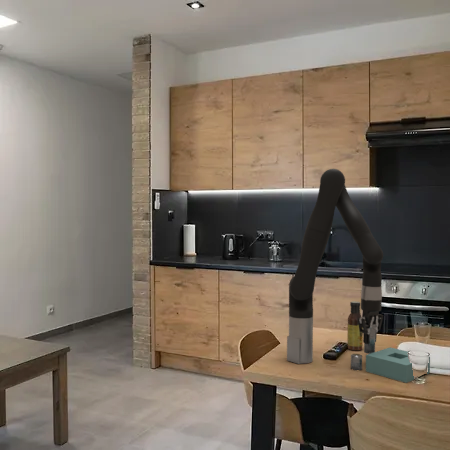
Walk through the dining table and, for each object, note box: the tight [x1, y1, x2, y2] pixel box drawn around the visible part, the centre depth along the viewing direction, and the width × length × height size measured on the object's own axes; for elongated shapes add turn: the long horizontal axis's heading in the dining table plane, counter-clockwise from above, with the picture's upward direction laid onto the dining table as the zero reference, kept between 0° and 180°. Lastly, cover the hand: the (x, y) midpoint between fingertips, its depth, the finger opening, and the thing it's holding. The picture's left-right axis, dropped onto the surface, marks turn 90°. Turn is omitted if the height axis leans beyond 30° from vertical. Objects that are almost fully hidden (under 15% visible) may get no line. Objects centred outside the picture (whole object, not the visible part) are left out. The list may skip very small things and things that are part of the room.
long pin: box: [363, 324, 377, 355], centre depth 193 cm, size 4×4×11 cm
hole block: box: [365, 347, 431, 384], centre depth 183 cm, size 16×16×6 cm
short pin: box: [350, 353, 363, 371], centre depth 187 cm, size 4×4×5 cm
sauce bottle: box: [347, 300, 364, 352], centre depth 214 cm, size 7×6×20 cm
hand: (369, 342), depth 193 cm, fingers closed on long pin, 4 cm apart
